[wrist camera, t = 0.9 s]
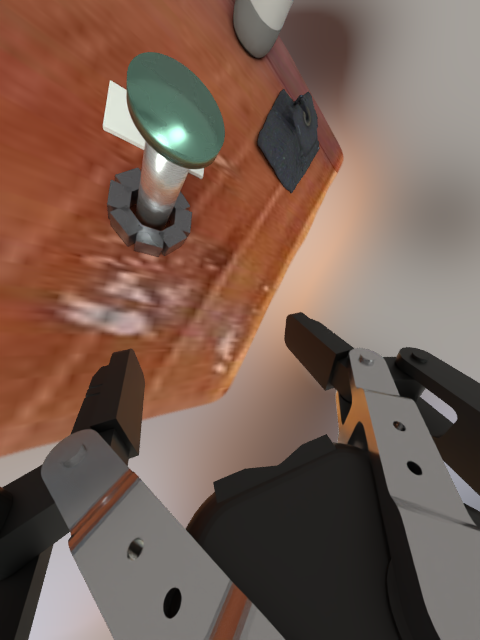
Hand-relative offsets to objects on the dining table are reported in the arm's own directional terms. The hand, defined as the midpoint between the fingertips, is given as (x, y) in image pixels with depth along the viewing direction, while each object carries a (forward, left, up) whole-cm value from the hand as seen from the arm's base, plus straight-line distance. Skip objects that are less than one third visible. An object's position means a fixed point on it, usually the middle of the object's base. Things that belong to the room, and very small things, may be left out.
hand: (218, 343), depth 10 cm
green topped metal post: (-2, +17, -21) cm, 27 cm away
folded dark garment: (+24, +47, -22) cm, 57 cm away
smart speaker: (+12, +63, -22) cm, 67 cm away
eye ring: (-2, +17, -21) cm, 27 cm away
